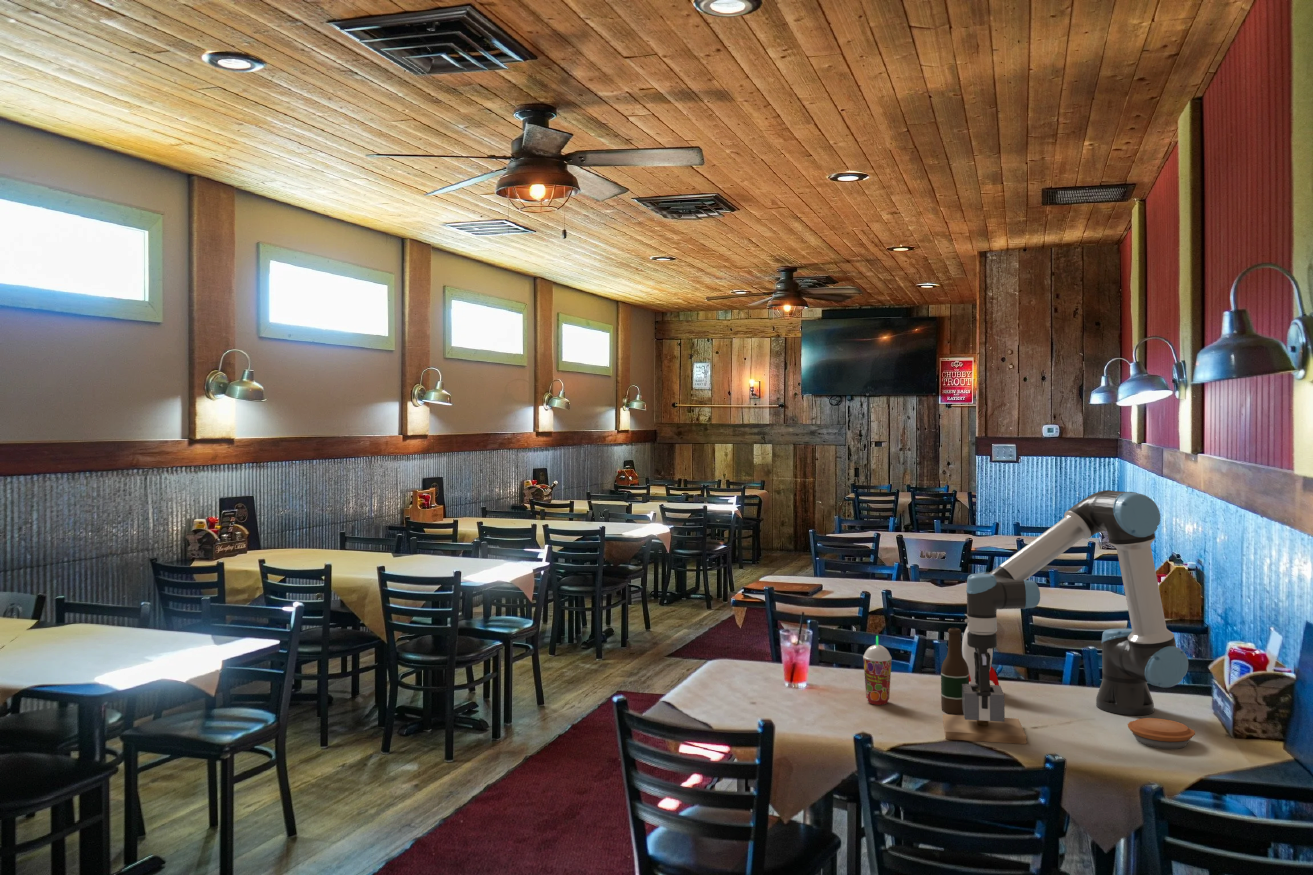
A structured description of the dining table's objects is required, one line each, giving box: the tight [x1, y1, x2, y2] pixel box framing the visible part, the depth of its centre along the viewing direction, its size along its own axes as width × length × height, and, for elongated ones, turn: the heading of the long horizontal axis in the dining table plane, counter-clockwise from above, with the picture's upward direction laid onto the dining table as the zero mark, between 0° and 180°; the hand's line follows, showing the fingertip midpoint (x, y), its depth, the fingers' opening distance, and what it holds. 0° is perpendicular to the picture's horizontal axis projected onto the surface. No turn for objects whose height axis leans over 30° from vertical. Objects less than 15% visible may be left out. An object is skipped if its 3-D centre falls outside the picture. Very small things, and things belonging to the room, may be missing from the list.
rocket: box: [961, 627, 1000, 686], centre depth 299 cm, size 11×11×25 cm
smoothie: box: [862, 635, 893, 706], centre depth 289 cm, size 8×8×20 cm
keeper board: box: [942, 713, 1027, 745], centre depth 259 cm, size 20×16×2 cm
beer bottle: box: [940, 627, 969, 715], centre depth 279 cm, size 8×8×24 cm
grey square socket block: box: [962, 684, 1006, 722], centre depth 259 cm, size 10×10×7 cm
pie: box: [1127, 717, 1196, 750], centre depth 250 cm, size 15×16×5 cm
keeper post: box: [977, 720, 989, 727], centre depth 259 cm, size 3×3×8 cm
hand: (982, 714), depth 259 cm, fingers closed on grey square socket block, 10 cm apart
